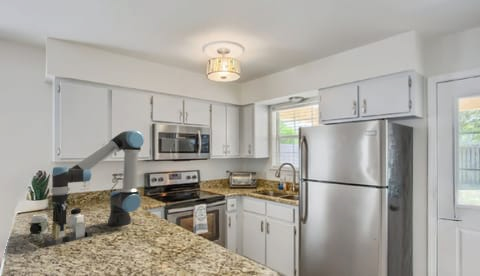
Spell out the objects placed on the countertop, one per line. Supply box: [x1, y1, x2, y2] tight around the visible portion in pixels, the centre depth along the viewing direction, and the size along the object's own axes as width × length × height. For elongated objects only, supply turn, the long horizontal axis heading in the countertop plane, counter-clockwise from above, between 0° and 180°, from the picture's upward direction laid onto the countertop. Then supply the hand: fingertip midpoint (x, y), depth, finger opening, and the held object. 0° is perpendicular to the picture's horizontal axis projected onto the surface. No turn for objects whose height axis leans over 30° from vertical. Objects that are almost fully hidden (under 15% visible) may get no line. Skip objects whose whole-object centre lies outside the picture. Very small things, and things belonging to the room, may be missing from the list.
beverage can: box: [30, 213, 49, 237], centre depth 171 cm, size 8×8×12 cm
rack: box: [43, 228, 94, 247], centre depth 159 cm, size 22×9×3 cm, turn 143°
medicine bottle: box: [66, 207, 85, 229], centre depth 188 cm, size 7×7×12 cm
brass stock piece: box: [51, 221, 67, 239], centre depth 155 cm, size 5×5×8 cm
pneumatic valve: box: [29, 219, 49, 241], centre depth 160 cm, size 6×12×12 cm, turn 15°
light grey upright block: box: [71, 222, 86, 240], centre depth 163 cm, size 5×5×8 cm
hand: (59, 235), depth 155 cm, fingers closed on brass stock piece, 5 cm apart
